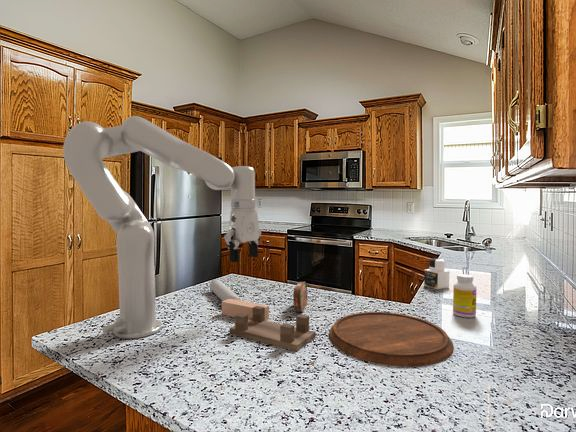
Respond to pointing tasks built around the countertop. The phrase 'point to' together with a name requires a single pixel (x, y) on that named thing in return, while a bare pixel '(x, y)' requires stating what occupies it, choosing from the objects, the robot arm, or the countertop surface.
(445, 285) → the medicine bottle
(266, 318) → the clay strip
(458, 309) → the supplement bottle
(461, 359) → the countertop surface
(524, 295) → the countertop surface
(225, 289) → the tube
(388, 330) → the cutting board
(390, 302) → the countertop surface
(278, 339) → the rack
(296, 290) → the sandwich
